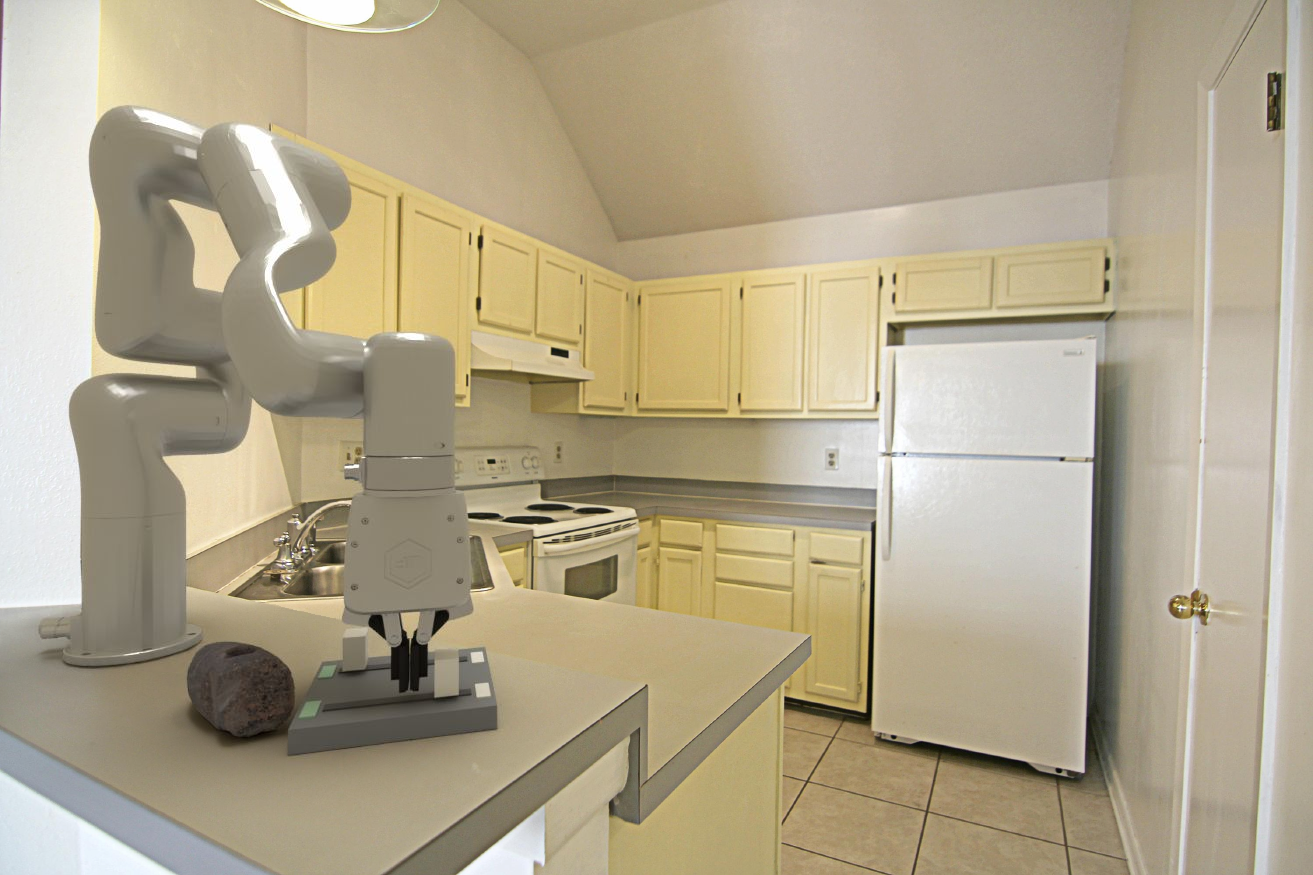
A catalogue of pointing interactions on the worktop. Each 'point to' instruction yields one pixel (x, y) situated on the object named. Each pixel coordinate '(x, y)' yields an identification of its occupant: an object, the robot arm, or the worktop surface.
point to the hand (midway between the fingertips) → (409, 685)
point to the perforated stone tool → (240, 687)
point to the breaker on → (355, 649)
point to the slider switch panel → (390, 705)
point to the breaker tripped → (446, 672)
